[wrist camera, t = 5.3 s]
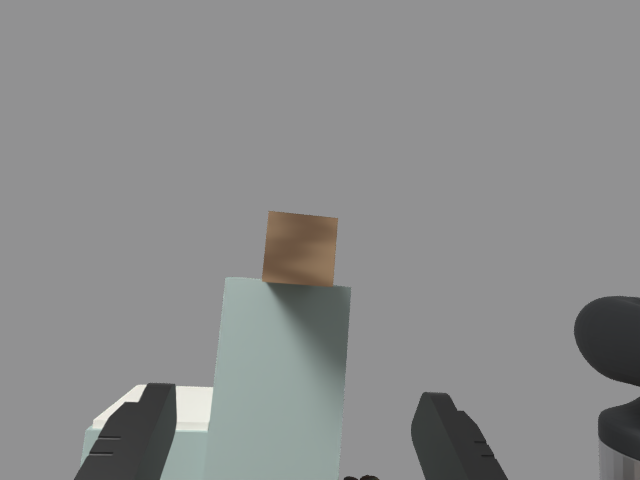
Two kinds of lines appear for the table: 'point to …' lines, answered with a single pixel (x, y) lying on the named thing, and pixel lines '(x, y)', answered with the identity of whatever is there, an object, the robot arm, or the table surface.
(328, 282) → the walnut bar
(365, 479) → the bookend
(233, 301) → the stand
